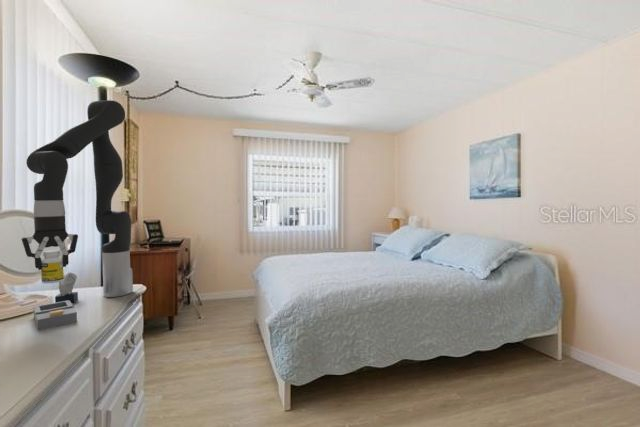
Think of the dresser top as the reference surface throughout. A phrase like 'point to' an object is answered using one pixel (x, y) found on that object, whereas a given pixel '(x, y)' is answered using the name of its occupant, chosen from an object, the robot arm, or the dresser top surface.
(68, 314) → the gray rectangular box
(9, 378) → the dresser top surface
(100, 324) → the dresser top surface
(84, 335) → the dresser top surface
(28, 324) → the dresser top surface
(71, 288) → the stone bust sculpture
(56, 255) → the supplement bottle
